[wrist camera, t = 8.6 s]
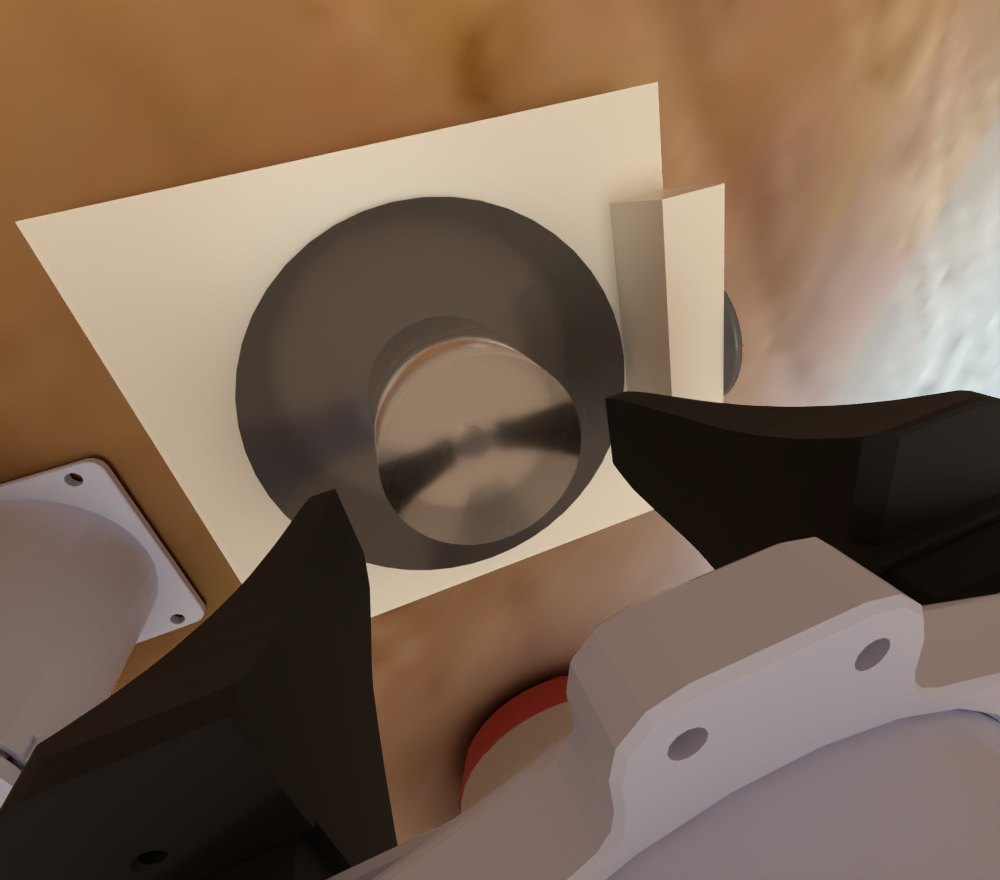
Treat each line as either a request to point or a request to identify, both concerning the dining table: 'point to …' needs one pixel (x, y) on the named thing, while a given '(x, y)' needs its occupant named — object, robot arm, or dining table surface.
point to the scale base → (344, 193)
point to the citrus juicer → (515, 738)
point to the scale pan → (382, 314)
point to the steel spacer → (469, 432)
